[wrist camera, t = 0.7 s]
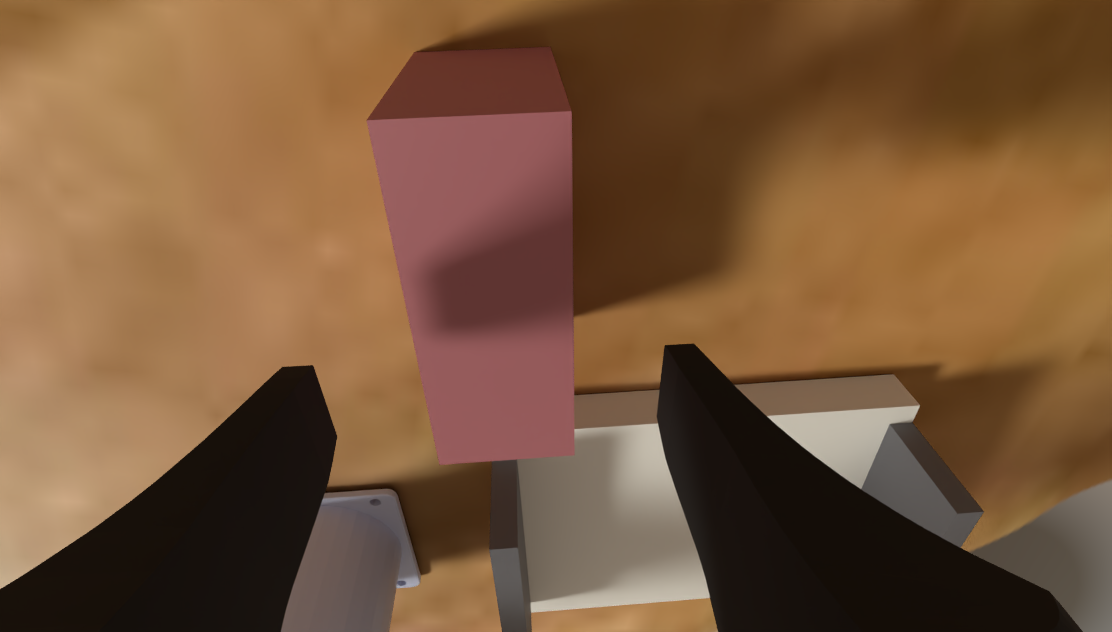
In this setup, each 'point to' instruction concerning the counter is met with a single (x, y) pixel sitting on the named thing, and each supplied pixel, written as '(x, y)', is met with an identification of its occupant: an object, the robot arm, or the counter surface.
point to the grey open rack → (655, 510)
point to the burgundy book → (484, 245)
